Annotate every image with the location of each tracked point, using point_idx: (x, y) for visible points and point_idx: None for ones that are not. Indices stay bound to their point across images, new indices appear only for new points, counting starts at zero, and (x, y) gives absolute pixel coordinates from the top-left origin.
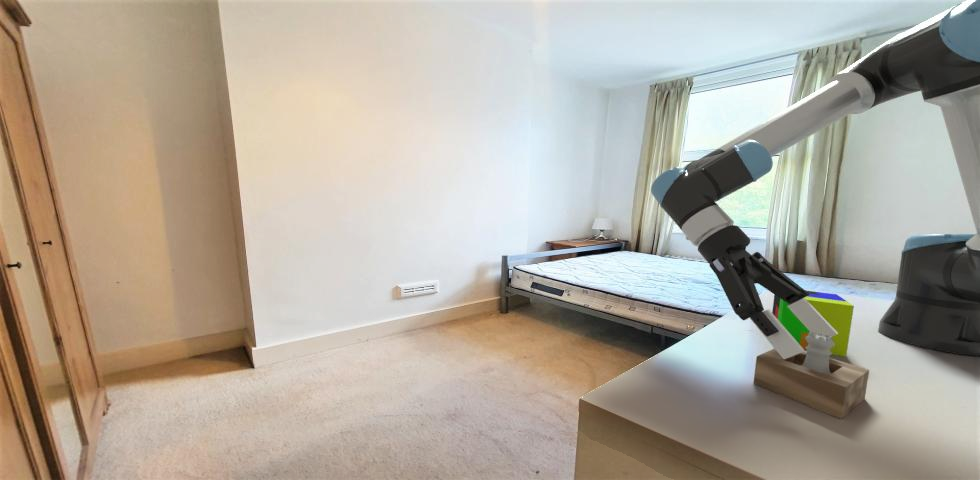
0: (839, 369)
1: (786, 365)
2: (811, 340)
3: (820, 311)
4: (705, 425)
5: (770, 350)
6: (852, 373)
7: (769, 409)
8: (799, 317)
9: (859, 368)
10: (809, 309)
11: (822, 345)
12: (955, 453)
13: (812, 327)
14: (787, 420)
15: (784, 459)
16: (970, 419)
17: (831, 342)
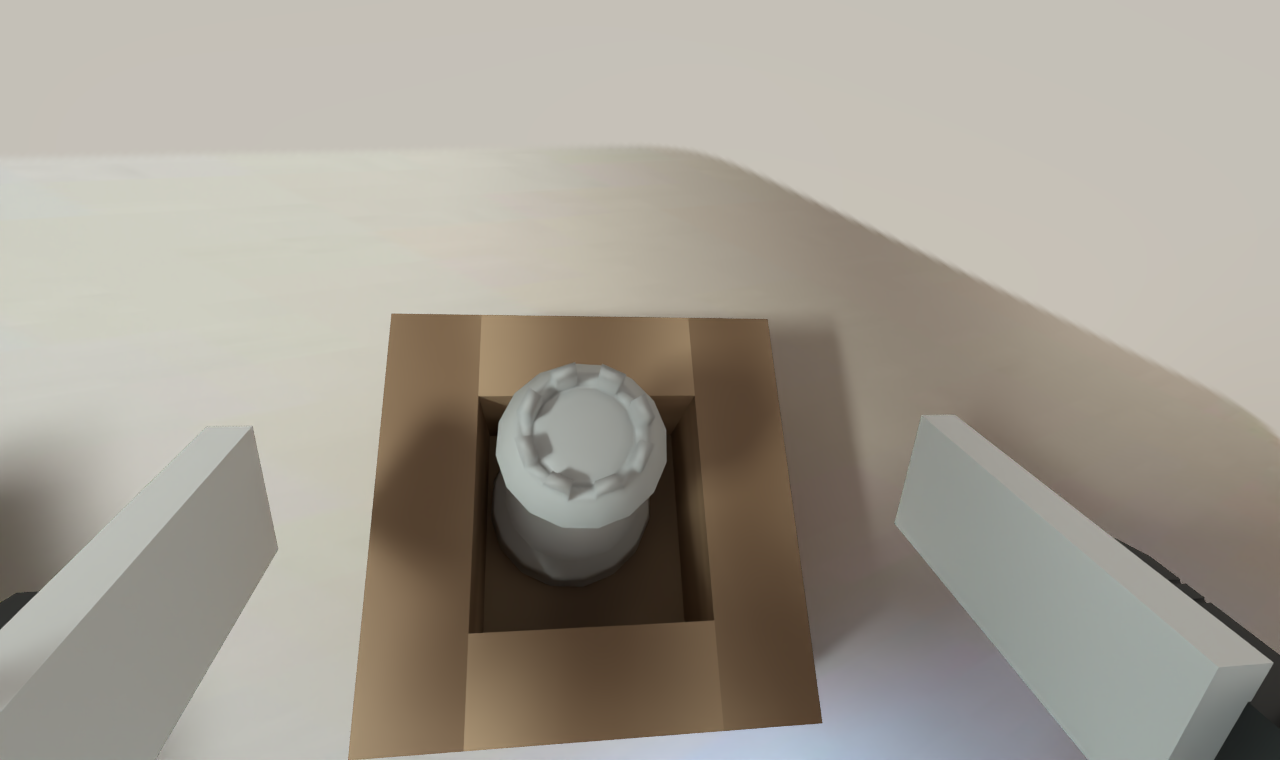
0: None
1: (784, 556)
2: (657, 467)
3: None
4: (1258, 601)
5: (611, 737)
6: (543, 345)
7: None
8: (159, 731)
9: (422, 343)
10: (92, 645)
11: (655, 407)
12: (621, 168)
13: (223, 596)
14: None
15: (1139, 394)
16: (263, 154)
17: (598, 370)
